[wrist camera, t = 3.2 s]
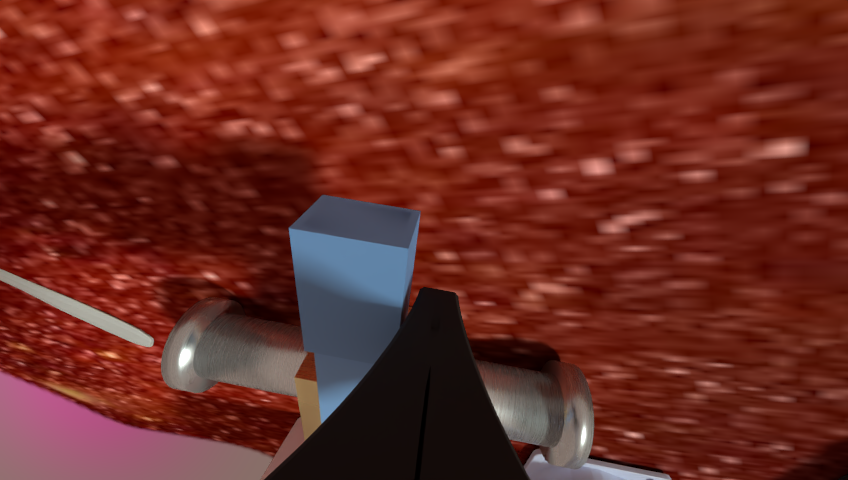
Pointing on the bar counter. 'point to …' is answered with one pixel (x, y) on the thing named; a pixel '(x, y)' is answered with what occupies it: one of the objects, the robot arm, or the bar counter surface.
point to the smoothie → (287, 447)
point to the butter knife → (80, 310)
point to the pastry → (844, 477)
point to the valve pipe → (296, 376)
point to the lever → (351, 287)
